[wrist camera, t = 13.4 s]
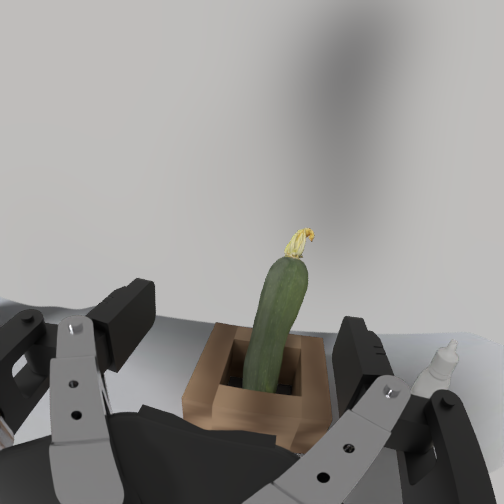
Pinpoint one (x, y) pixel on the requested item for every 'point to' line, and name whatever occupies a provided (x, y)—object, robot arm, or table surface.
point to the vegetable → (276, 316)
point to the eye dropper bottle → (437, 372)
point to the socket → (261, 403)
